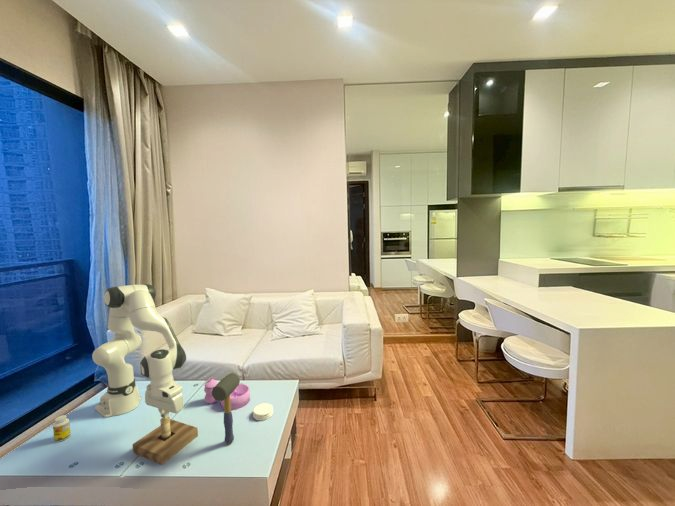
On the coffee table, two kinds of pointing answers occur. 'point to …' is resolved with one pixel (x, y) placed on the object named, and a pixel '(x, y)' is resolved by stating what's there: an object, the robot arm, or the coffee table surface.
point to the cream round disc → (263, 411)
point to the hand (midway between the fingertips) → (164, 417)
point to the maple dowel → (165, 428)
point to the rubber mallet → (226, 402)
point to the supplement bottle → (61, 428)
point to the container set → (237, 397)
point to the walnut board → (165, 442)
